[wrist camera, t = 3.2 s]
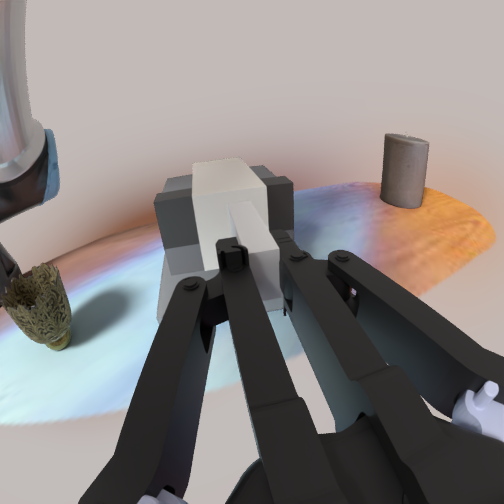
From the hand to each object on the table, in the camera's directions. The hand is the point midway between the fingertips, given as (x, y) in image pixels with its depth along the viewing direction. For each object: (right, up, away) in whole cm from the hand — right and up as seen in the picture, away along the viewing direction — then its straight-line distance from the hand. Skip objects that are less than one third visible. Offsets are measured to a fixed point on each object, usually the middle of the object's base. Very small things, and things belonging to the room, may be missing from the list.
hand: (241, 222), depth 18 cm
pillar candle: (+32, +9, +34) cm, 48 cm away
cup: (-20, -12, +6) cm, 24 cm away
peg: (-2, 0, +13) cm, 13 cm away
